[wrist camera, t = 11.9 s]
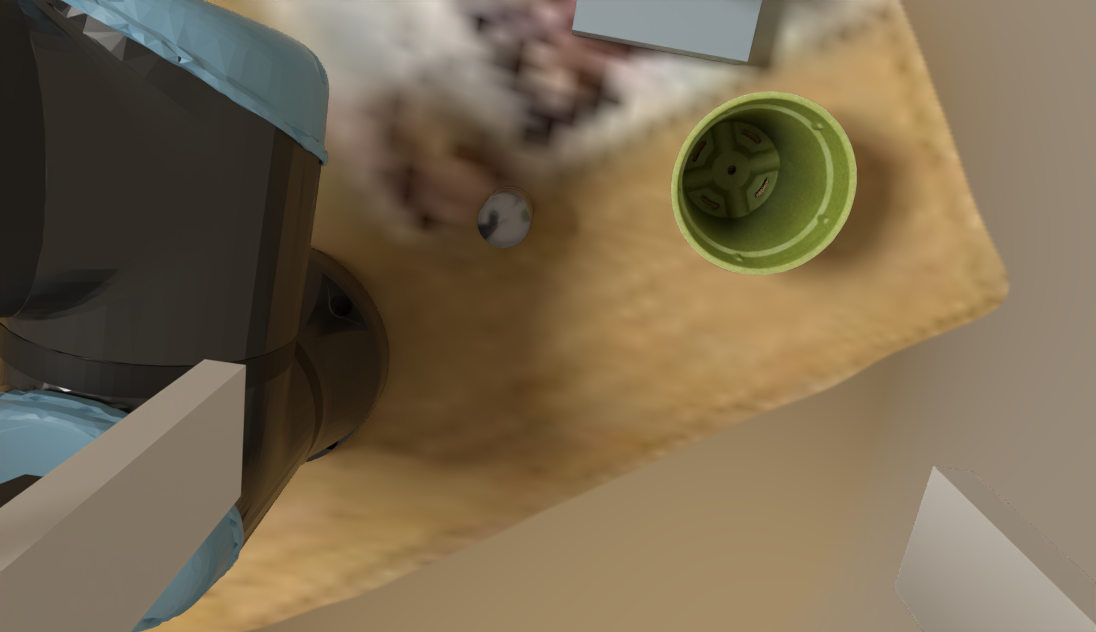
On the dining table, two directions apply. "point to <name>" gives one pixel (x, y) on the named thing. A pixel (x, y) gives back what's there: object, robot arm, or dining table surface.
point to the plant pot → (792, 192)
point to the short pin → (505, 217)
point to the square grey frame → (673, 25)
